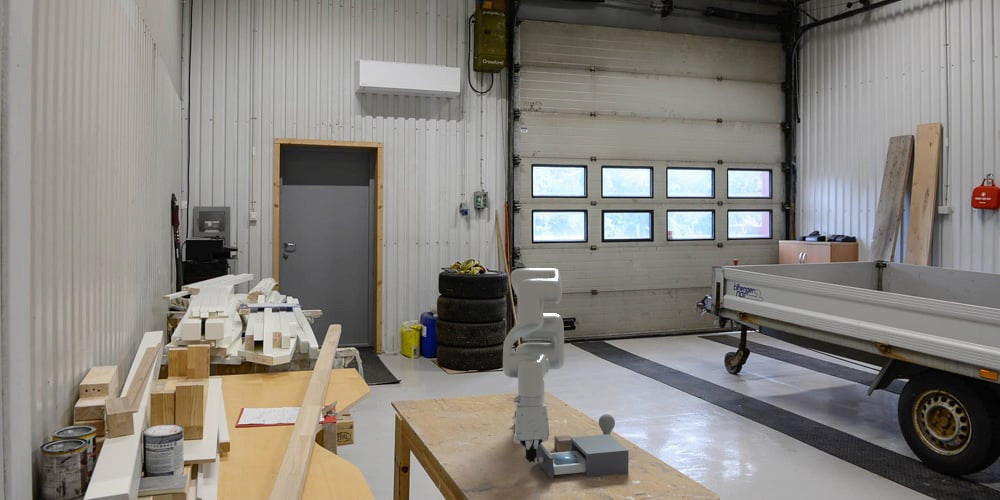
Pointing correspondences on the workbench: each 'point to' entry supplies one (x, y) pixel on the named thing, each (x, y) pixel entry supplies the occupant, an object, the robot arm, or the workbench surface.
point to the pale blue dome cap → (565, 458)
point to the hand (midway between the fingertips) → (531, 460)
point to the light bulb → (606, 423)
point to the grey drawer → (551, 468)
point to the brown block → (562, 443)
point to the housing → (601, 455)
